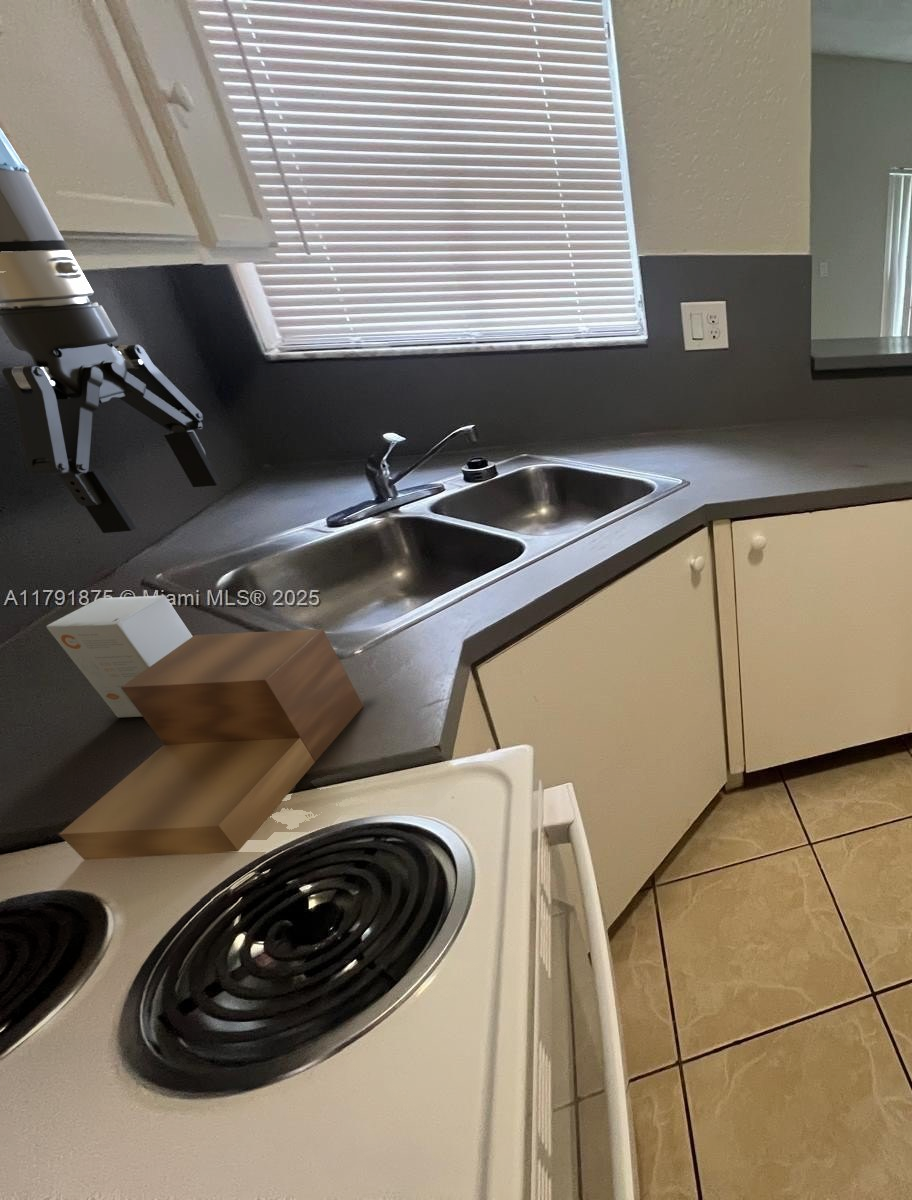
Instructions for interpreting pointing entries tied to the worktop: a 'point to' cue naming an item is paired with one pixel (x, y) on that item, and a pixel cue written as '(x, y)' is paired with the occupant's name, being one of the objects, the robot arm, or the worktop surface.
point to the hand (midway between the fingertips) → (167, 506)
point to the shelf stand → (220, 743)
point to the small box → (119, 642)
